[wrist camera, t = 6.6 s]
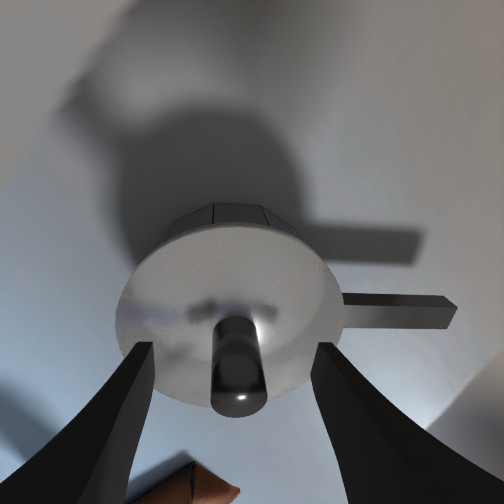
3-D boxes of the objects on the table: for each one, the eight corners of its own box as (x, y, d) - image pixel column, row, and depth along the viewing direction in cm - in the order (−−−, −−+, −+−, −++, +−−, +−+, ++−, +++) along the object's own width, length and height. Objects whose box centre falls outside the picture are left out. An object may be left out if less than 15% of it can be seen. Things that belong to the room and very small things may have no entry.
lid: (121, 392, 16) (90, 482, 12) (119, 203, 12) (67, 252, 8) (306, 398, 18) (331, 477, 14) (369, 239, 13) (431, 291, 10)
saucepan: (154, 338, 20) (140, 388, 16) (146, 197, 15) (124, 223, 12) (392, 339, 22) (425, 382, 19) (442, 218, 18) (498, 245, 14)
